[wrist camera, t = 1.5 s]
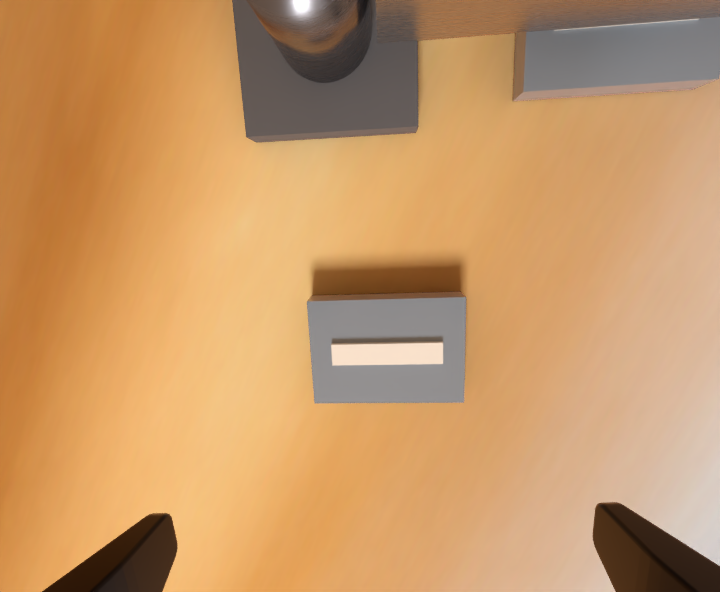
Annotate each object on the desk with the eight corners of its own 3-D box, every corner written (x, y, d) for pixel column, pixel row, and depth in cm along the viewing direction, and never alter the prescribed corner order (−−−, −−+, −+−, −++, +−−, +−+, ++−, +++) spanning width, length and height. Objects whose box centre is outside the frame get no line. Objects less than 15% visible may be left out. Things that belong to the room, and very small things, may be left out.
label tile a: (460, 291, 17) (467, 298, 16) (458, 390, 18) (464, 404, 17) (312, 295, 18) (305, 302, 16) (318, 391, 19) (313, 405, 17)
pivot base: (413, -61, 14) (416, -86, 13) (415, 132, 16) (418, 126, 15) (238, -44, 15) (225, -66, 14) (256, 142, 16) (246, 137, 15)
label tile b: (713, -59, 14) (749, -89, 12) (692, 89, 15) (724, 76, 13) (518, -41, 14) (533, -68, 13) (512, 101, 15) (525, 90, 14)
